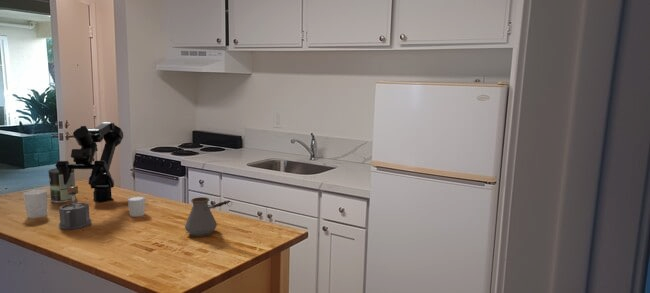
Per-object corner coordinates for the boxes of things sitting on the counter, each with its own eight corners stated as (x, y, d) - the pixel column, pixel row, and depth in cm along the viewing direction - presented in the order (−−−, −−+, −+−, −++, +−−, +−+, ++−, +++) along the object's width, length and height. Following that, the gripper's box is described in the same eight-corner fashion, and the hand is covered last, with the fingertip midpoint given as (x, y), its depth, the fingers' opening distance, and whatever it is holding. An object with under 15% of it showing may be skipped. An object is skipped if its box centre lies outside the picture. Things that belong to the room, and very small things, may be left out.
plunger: (68, 205, 172) (66, 185, 171) (86, 205, 173) (85, 184, 172) (60, 211, 166) (59, 189, 164) (80, 210, 167) (78, 189, 165)
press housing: (65, 220, 175) (64, 202, 174) (95, 219, 177) (94, 201, 176) (51, 231, 162) (50, 212, 161) (84, 230, 164) (82, 211, 163)
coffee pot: (178, 234, 163) (176, 194, 160) (202, 225, 172) (201, 188, 170) (219, 247, 151) (218, 204, 149) (242, 237, 160) (242, 197, 158)
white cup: (52, 214, 182) (50, 191, 181) (33, 220, 175) (31, 195, 174) (40, 211, 186) (38, 188, 184) (21, 217, 178) (19, 193, 177)
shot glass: (124, 215, 182) (123, 199, 181) (137, 211, 189) (136, 195, 187) (137, 217, 180) (136, 201, 179) (149, 213, 186) (149, 197, 185)
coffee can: (47, 203, 198) (45, 172, 195) (54, 197, 207) (51, 168, 205) (73, 201, 201) (71, 171, 198) (78, 195, 210) (76, 167, 208)
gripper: (56, 141, 178) (44, 172, 168) (104, 141, 180) (95, 172, 171) (66, 157, 187) (55, 188, 177) (112, 157, 189) (103, 188, 179)
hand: (77, 184), depth 176 cm, fingers open, 9 cm apart
